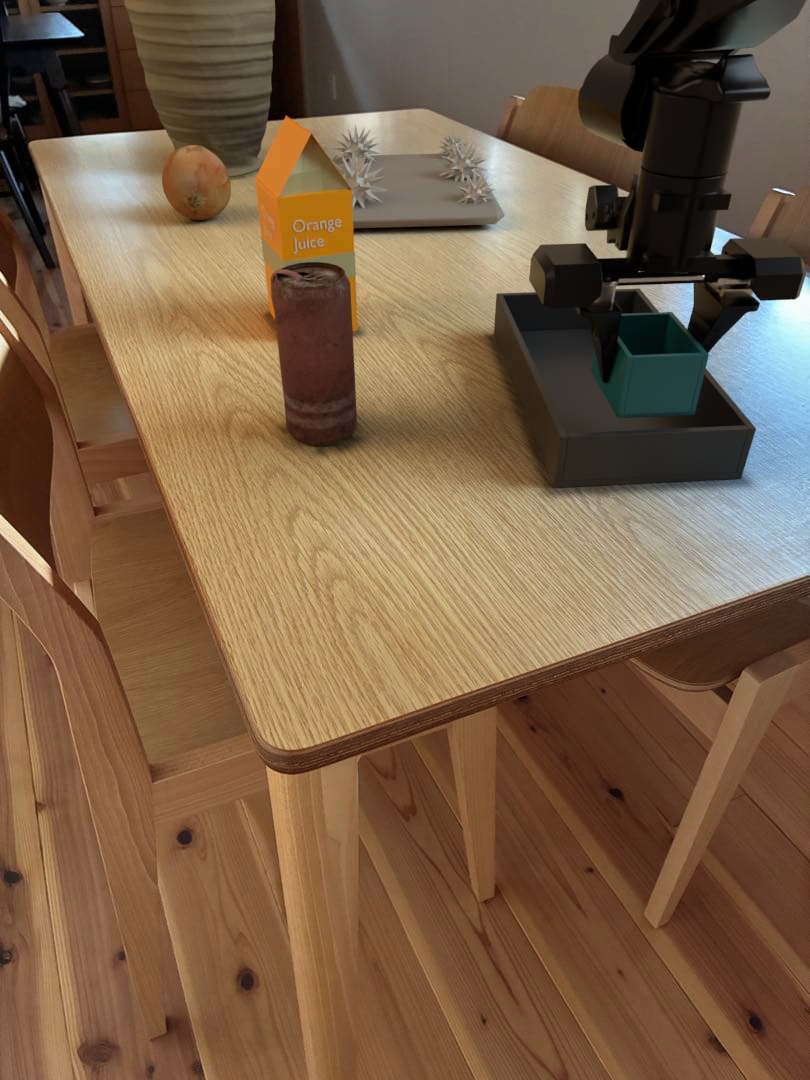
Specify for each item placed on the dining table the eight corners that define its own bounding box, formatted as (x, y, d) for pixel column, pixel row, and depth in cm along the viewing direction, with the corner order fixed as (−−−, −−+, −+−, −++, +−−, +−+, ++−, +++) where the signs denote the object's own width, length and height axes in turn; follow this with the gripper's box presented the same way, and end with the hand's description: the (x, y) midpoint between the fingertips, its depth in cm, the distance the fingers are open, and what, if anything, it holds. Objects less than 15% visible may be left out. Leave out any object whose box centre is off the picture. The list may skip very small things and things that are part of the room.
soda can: (289, 413, 73) (272, 258, 65) (358, 413, 73) (351, 258, 65) (280, 448, 68) (261, 286, 60) (355, 448, 68) (346, 286, 60)
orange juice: (290, 342, 85) (269, 135, 73) (268, 312, 92) (246, 117, 79) (359, 330, 88) (351, 128, 75) (333, 302, 94) (322, 111, 82)
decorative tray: (504, 231, 114) (510, 155, 108) (322, 236, 113) (317, 160, 107) (472, 169, 142) (474, 106, 136) (325, 173, 140) (321, 109, 134)
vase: (153, 159, 152) (143, -34, 137) (280, 173, 153) (284, -17, 138) (113, 175, 131) (96, -51, 116) (261, 191, 132) (263, -31, 117)
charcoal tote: (632, 329, 87) (639, 288, 84) (741, 478, 64) (756, 428, 62) (493, 335, 86) (496, 293, 84) (554, 487, 64) (560, 437, 61)
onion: (231, 206, 125) (222, 135, 119) (238, 225, 117) (228, 151, 111) (167, 211, 123) (154, 140, 117) (170, 231, 115) (156, 155, 109)
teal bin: (660, 368, 68) (672, 311, 65) (694, 415, 62) (709, 354, 59) (590, 371, 68) (599, 314, 65) (617, 418, 61) (628, 357, 58)
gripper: (766, 138, 61) (719, 333, 71) (524, 144, 60) (508, 341, 70) (840, 175, 52) (774, 392, 62) (557, 183, 51) (535, 402, 61)
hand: (643, 378), depth 64 cm, fingers closed on teal bin, 6 cm apart
